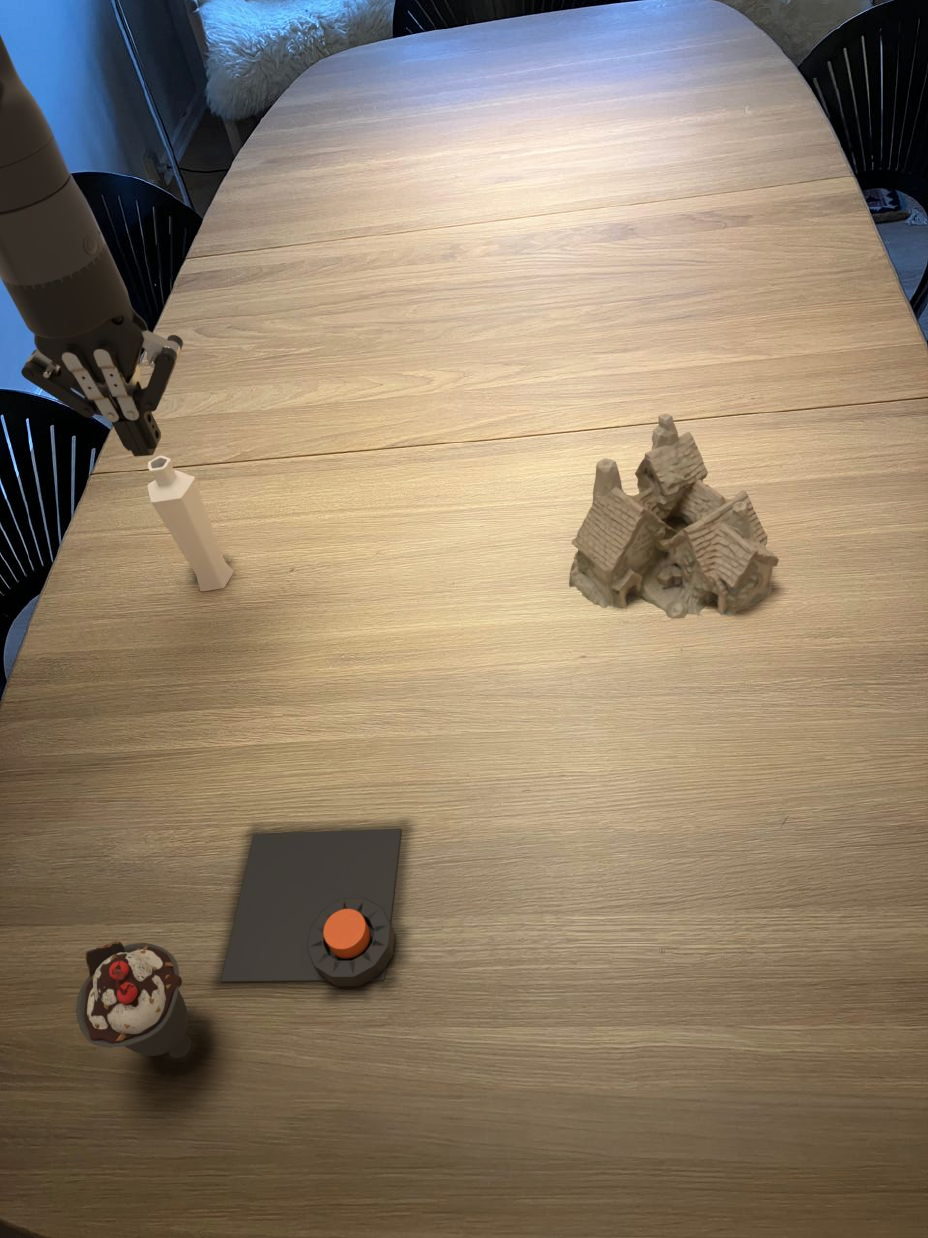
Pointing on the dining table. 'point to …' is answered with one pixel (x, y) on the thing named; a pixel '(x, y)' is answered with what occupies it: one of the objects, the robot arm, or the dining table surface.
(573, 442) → the dining table surface
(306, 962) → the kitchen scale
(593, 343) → the dining table surface
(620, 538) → the ceramic cottage
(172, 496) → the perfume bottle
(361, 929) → the button
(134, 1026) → the sundae
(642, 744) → the dining table surface
